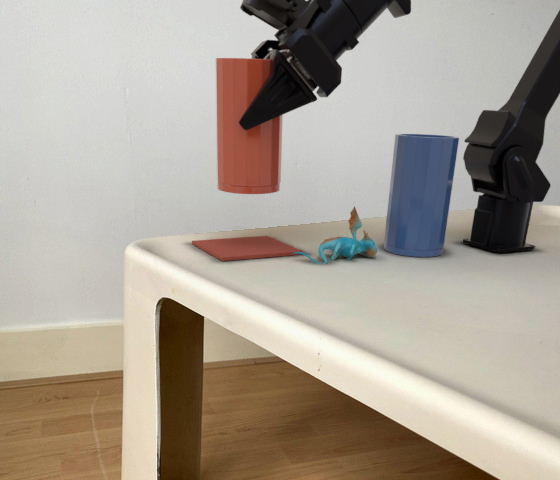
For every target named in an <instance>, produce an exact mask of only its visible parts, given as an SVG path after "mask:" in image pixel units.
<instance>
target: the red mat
mask: <svg viewBox="0 0 560 480" xmlns="http://www.w3.org/2000/svg"><path fill="white" fill-rule="evenodd" d="M191 245H193V246H195V247H197V248H198V249H200V250H201V251H203V252H205V253H207V254H208V255H210V256H213V257H214V258H216V259H218V261H221V262H229V261H240V260H241V261H242V260H253V259H264V258H278V257H288V256H300V255H301V254H292V253H295V252H303V253H304V251H303V250H301V249H299V248H297V247H295V246H292V245H290V244H287V243H285V242H283V241H280V240H278V239H276V238H274V237H271V236H269V235H257V236H242V237H241V236H240V237H228V238H227V237H226V238H213V239H212V238H211V239H197V240H191Z"/></svg>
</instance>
